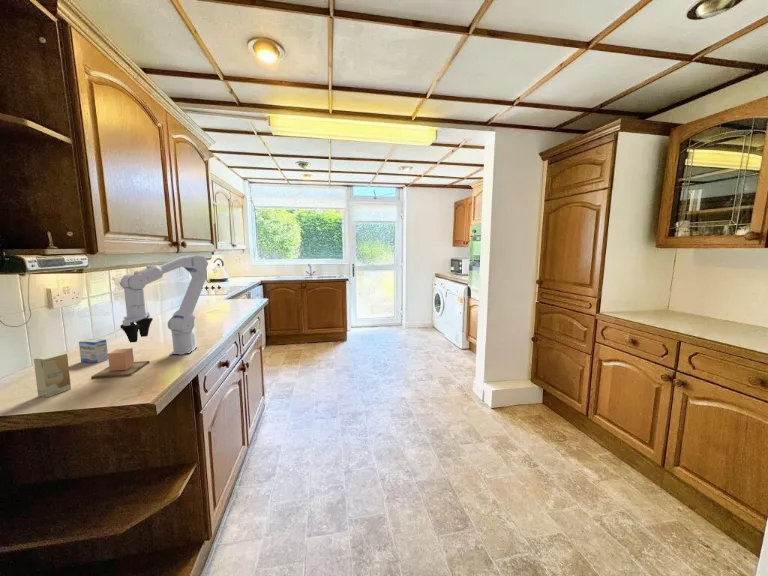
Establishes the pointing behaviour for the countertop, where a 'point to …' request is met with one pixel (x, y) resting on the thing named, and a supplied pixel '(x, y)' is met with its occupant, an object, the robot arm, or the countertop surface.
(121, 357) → the square cap
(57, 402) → the countertop surface
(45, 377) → the skincare box
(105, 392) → the countertop surface
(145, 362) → the post board
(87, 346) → the medicine box
